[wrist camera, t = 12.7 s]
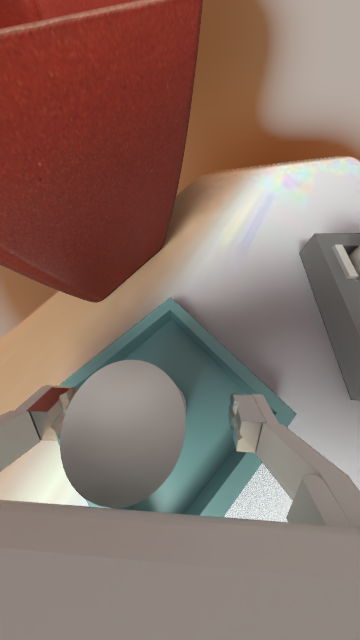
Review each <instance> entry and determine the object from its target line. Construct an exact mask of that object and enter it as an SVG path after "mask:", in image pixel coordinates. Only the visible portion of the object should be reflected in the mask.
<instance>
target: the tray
mask: <svg viewBox="0 0 360 640" xmlns="http://www.w3.org/2000/svg"><path fill="white" fill-rule="evenodd" d="M123 360H140V361H145V362H148V363H150V364H153V365H155V366H157V367H158V368H160V369H161V370H162V371H164V372H165V373H166V374H167V375H168V376H169V377H170V378H171V379H172V381H173V382H174V383H175V384H176V386H177V387H178V388H179V389H180V390H181V392H182V393H183V395H184V398H185V401H186V429H185V438H184V443H183V447H182V450H181V454H180V457H179V459H178V461H177V463H176V466H175V467H174V469H173V471H172V472H171V474H170V476H169V477H168V478H167V479H166V481H165V482H164V483H163V484H162V485H161V486H160V487H159V488H158V490H157V491H155V492H154V493H153V494H151V495H150V496H149V497H148V498H146V499H144V500H142V501H140V502H139V503H136V504H133V505H131V506H127V507H122V508H112V509H124V510H137V511H150V512H162V513H175V514H188V515H200V516H213V517H224V515H225V514H226V512H227V511H228V510H229V508H230V507H231V505H232V504H233V503H234V501H235V500H236V498H237V497H238V496H239V494H240V493H241V491H242V490H243V489H244V487H245V486H246V484H247V483H248V482H249V480H250V479H251V477H252V476H253V474H254V473H255V472H256V470H257V469H258V467H259V466H260V465H261V463H262V461H261V460H260V459H259V458H258V456H257V455H256V453H251V452H240V451H236V448H235V444H234V440H233V429H232V428H231V427H230V423H229V417H228V410H229V406H230V405H231V402H230V395H231V393H232V394H262V395H263V396H264V397H265V399H266V401H267V403H268V405H269V406H270V408H271V410H272V412H273V414H274V415H275V417H276V419H277V421H278V423H279V424H283V425H284V426H286V427H288V425H289V424H290V423H291V421H292V420H293V418H294V417H295V416H296V413H295V412H294V411H293V410H292V409H291V408H290V407H289V406H288V405H287V404H286V403H284V402H283V401H282V400H281V399H280V398H279V397H278V396H277V395H276V394H275V393H274V392H273V391H272V390H270V389H269V388H268V387H267V386H266V385H265V384H264V383H263V382H262V381H261V380H260V379H259V378H257V377H256V376H255V375H254V374H253V373H252V372H251V371H250V370H249V369H248V368H247V367H246V366H245V365H243V364H242V363H241V362H240V361H239V360H238V359H237V358H236V357H235V356H234V355H233V354H232V353H230V352H229V351H228V350H227V349H226V348H225V347H224V346H223V345H222V344H221V343H220V342H219V341H218V340H216V339H215V338H214V337H213V336H212V335H211V334H210V333H209V332H208V331H207V330H206V329H205V328H204V327H202V326H201V325H200V324H199V323H198V322H197V321H196V320H195V319H194V318H193V317H192V316H191V315H189V314H188V313H187V312H186V311H185V310H184V309H183V308H182V307H181V306H180V305H179V304H178V303H177V302H175V301H174V300H173V299H172V298H169V299H168V300H167V301H166V302H164V303H163V304H162V305H160V306H159V307H158V308H157V309H155V310H154V311H153V312H152V313H150V314H149V315H148V316H146V317H145V318H144V319H143V320H141V321H140V322H139V323H138V324H136V325H135V326H134V327H133V328H131V329H130V330H129V331H127V332H126V333H125V334H124V335H122V336H121V337H120V338H119V339H117V340H116V341H115V342H113V343H112V344H111V345H110V346H108V347H107V348H106V349H105V350H103V351H102V352H101V353H100V354H98V355H97V356H96V357H94V358H93V359H92V360H91V361H89V362H88V363H87V364H86V365H84V366H83V367H82V368H80V369H79V370H78V371H77V372H75V373H74V374H73V375H72V376H70V377H69V378H68V379H66V380H65V381H64V382H63V383H61V384H60V385H59V386H68V387H75V388H76V390H77V391H78V389H79V388H80V387H81V386H82V384H83V383H84V382H85V381H86V380H87V379H88V378H89V377H90V376H91V375H93V374H94V373H95V372H97V371H98V370H100V369H101V368H103V367H105V366H107V365H109V364H112V363H115V362H118V361H123ZM58 443H59V445H60V439H59V440H58ZM86 501H87V503H88V505H89V507H99V508H107V507H101V506H99V505H96V504H93V503H91V502H90V501H88V500H86Z"/></svg>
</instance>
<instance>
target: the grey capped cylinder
mask: <svg viewBox="0 0 360 640" xmlns="http://www.w3.org/2000/svg"><path fill="white" fill-rule="evenodd" d="M185 429H186V401H185V398H184V395H183V393H182V392H181V390H180V389H179V388H178V387H177V386H176V384H175V383H174V382H173V381H172V379H171V378H170V377H169V376H168V375H167V374H166V373H165V372H164V371H162V370H161V369H160V368H158V367H157V366H155V365H153V364H150V363H148V362H145V361H140V360H123V361H118V362H115V363H112V364H109V365H107V366H105V367H103V368H101V369H100V370H98V371H97V372H95V373H94V374H93V375H91V376H90V377H89V378H88V379H87V380H86V381H85V382H84V383H83V384H82V386H81V387H80V388H79V389H78V391H77V392H76V393H75V395H74V397H73V399H72V400H71V402H70V404H69V406H68V409H67V411H66V414H65V417H64V420H63V424H62V428H61V436H60V451H61V459H62V463H63V468H64V470H65V473H66V475H67V478H68V479H69V481H70V483H71V485H72V486H73V487H74V488H75V490H76V491H77V492H78V493H79V494H80V495H81V496H82V497H83V498H85V499H86V500H88V501H90V502H91V503H93V504H96V505H99V506H101V507H107V508H122V507H127V506H131V505H133V504H136V503H139V502H140V501H142V500H144V499H146V498H148V497H149V496H150V495H151V494H153V493H154V492H155V491H157V490H158V488H159V487H160V486H161V485H162V484H163V483H164V482H165V481H166V479H167V478H168V477H169V476H170V474H171V472H172V471H173V469H174V467H175V466H176V463H177V461H178V459H179V457H180V454H181V450H182V447H183V443H184V438H185Z"/></svg>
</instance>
